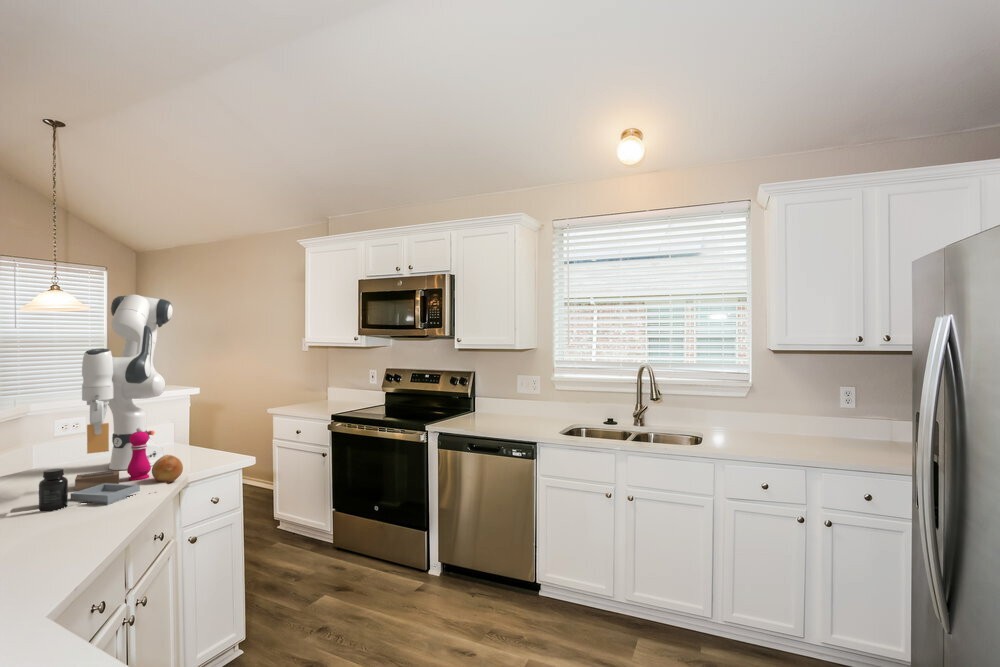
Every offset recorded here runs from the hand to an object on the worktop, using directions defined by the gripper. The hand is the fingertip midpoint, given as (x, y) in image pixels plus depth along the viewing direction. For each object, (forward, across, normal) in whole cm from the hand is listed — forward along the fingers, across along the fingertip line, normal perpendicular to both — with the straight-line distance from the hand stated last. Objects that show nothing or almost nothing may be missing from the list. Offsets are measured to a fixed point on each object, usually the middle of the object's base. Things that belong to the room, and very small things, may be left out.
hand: (98, 433), depth 183 cm
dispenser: (+20, 0, 0) cm, 20 cm away
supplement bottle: (+20, -19, +10) cm, 29 cm away
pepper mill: (+20, +3, -12) cm, 23 cm away
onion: (+20, -5, -20) cm, 29 cm away
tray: (+19, -16, -3) cm, 25 cm away
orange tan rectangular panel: (+7, 0, 0) cm, 7 cm away
